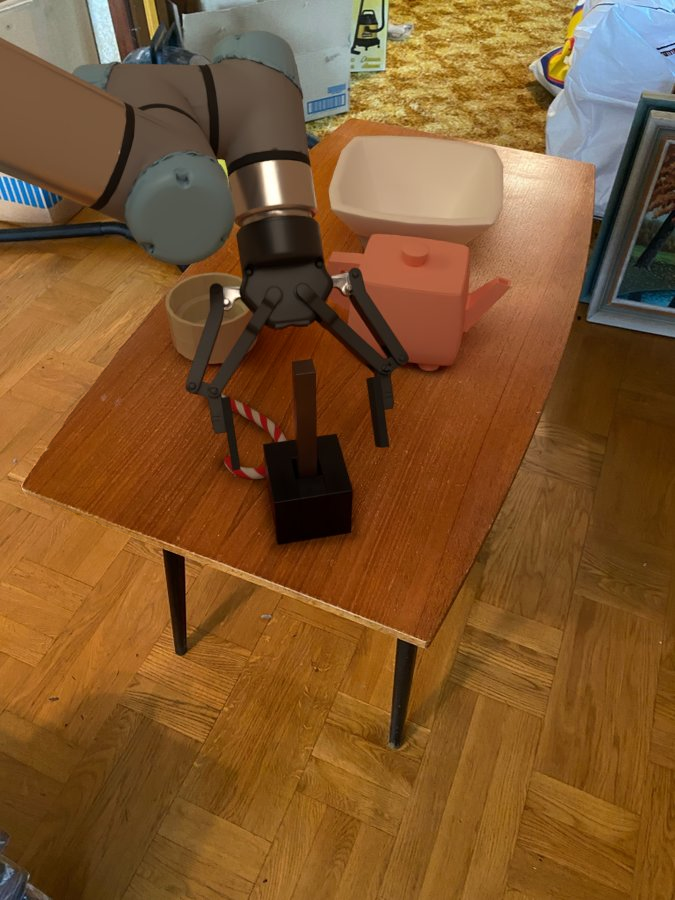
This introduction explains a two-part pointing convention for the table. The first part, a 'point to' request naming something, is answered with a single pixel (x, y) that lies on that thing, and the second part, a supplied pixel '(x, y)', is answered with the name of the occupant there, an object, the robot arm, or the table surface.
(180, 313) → the mixing bowl
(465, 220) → the bowl
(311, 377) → the stick
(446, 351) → the teapot
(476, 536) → the table surface
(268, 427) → the candy cane
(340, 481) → the stick stand
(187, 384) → the robot arm
